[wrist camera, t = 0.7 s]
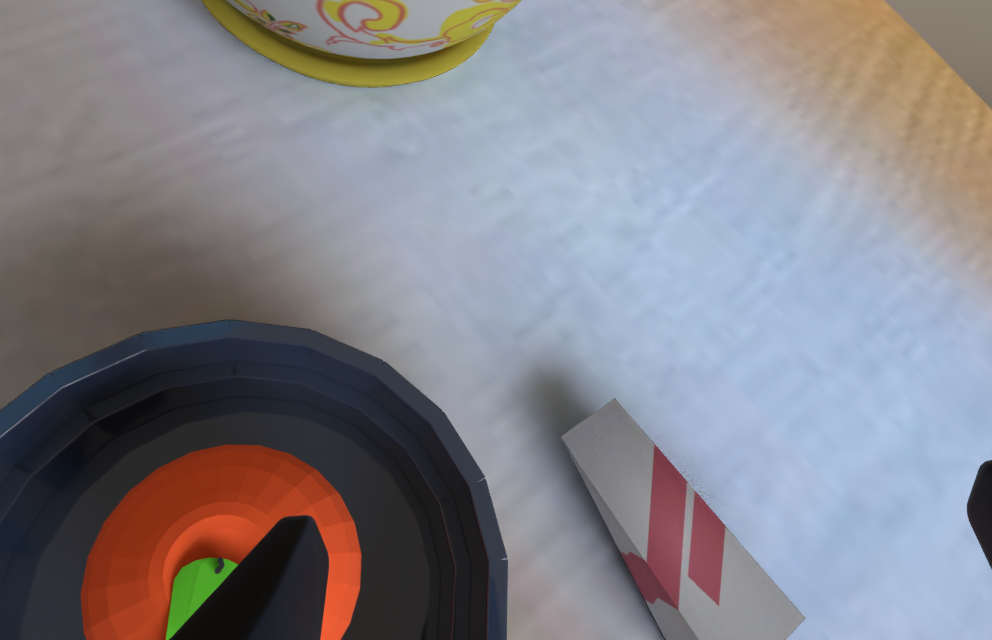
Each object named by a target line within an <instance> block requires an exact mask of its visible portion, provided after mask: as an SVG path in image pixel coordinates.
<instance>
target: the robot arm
mask: <svg viewBox="0 0 992 640" xmlns="http://www.w3.org/2000/svg"><path fill="white" fill-rule="evenodd" d="M967 514H968V518H969V521H970V524H971V526H972V528H973V530H974V533H975V535H976V537H977V539H978V541H979V543H980V545H981V548H982V550H983V552H984V554H985V556H986V558H987V560H988V562H989V565H990V567H991V569H992V460H989V461H986V462H984V463H983V464H982V465H981V466H980V468H979V470H978V473H977V476H976V479H975V482H974V485H973V488H972V490H971V493H970V496H969V499H968V503H967ZM328 573H329V555H328V551H327V548H326V546H325V543H324V541H323V539H322V536H321V534H320V531H319V529H318V526H317V524H316V522H315V520H314V518H313V517H312V516H310V515H299V516H287V517H284V518H282V519H281V520H279V521H278V522H277V523H276V524H275V525H274V526H273V528H272V529H271V530H270V531H269V532H268V533H267V534H266V535H265V536H264V537H263V538H262V539H261V541H260V542H259V543H258V544H257V545H256V546H255V547H254V548H253V549H252V550H251V551H250V552H249V554H248V555H247V556H246V557H245V558H244V559H243V560H242V561H241V562H240V563H239V564H238V566H237V567H236V568H235V569H234V570H233V571H232V572H231V573H230V574H229V575H228V576H227V577H226V579H225V580H224V581H223V582H222V583H221V584H220V585H219V586H218V587H217V588H216V589H215V590H214V592H213V593H212V594H211V595H210V596H209V597H208V598H207V599H206V600H205V601H204V602H203V604H202V605H201V606H200V607H199V608H198V609H197V610H196V611H195V612H194V613H193V614H192V615H191V617H190V618H189V619H188V620H187V621H186V622H185V623H184V624H183V625H182V626H181V627H180V628H179V630H178V631H177V632H176V633H175V634H174V635H173V636H172V637H171V638H170V639H169V640H320V638H321V630H322V622H323V614H324V606H325V598H326V590H327V581H328Z"/></svg>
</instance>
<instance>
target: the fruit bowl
mask: <svg viewBox="0 0 992 640" xmlns="http://www.w3.org/2000/svg"><path fill="white" fill-rule="evenodd" d="M222 445H260V446H264V447H267V448H271V449H274V450H278V451H281V452H285V453H289V454H291V455H293V456H295V457H296V458H298V459H300V460H301V461H303V462H305V463H306V464H308V465H310V466H311V467H313V468H315V469H316V470H318V471H319V473H320V474H321V475H322V476H323V477H324V478H325V479H326V480H327V481H328V482H329V483H330V484H331V485H332V486H333V487H334V488H335V490H336V491H337V492H338V493H339V494H340V496H341V497H342V499H343V501H344V503H345V505H346V507H347V509H348V511H349V513H350V515H351V517H352V519H353V520H354V522H355V526H356V531H357V536H358V540H359V545H360V549H361V554H362V557H361V581H360V591H359V594H358V598H357V601H356V605H355V608H354V612H353V615H352V618H351V622H350V624H349V626H348V628H347V630H346V631H345V633H344V635H343V637H342V638H341V640H507V587H508V560H507V555H506V551H505V547H504V544H503V540H502V536H501V533H500V529H499V525H498V522H497V518H496V514H495V511H494V507H493V503H492V500H491V496H490V492H489V489H488V485H487V481H486V479H485V476H484V475H483V473H482V471H481V470H480V468H479V467H478V465H477V463H476V462H475V460H474V459H473V457H472V456H471V454H470V452H469V451H468V449H467V448H466V446H465V444H464V443H463V441H462V440H461V438H460V436H459V435H458V433H457V432H456V430H455V429H454V427H453V425H452V424H451V422H450V421H449V419H448V417H447V416H446V414H445V413H444V412H442V410H441V409H440V408H439V407H438V406H437V405H436V404H434V403H433V402H432V401H431V400H430V399H429V398H427V397H426V396H425V395H424V394H423V393H422V392H420V391H419V390H418V389H417V388H416V387H414V386H413V385H412V384H411V383H410V382H409V381H407V380H406V379H405V378H404V377H403V376H402V375H400V374H399V373H398V372H397V371H396V370H395V369H393V368H392V367H391V366H390V365H389V364H388V363H386V362H384V361H383V360H381V359H379V358H376V357H374V356H372V355H370V354H367V353H365V352H363V351H360V350H358V349H356V348H353V347H351V346H349V345H346V344H344V343H342V342H340V341H337V340H335V339H333V338H330V337H328V336H326V335H323V334H321V333H319V332H316V331H313V330H311V329H305V328H297V327H288V326H280V325H272V324H264V323H256V322H248V321H240V320H221V321H214V322H207V323H201V324H194V325H187V326H181V327H174V328H167V329H161V330H154V331H147V332H142V333H141V334H136V335H134V336H132V337H129V338H127V339H125V340H122V341H120V342H118V343H116V344H113V345H111V346H109V347H106V348H104V349H102V350H99V351H97V352H95V353H92V354H90V355H88V356H85V357H83V358H81V359H79V360H76V361H74V362H72V363H69V364H67V365H65V366H62V367H60V368H58V369H55V370H53V371H52V372H51V373H47V374H46V375H45V376H44V377H42V378H41V379H40V380H38V381H37V382H36V383H35V384H33V385H32V386H31V387H29V388H28V389H27V390H26V391H24V392H23V393H22V394H21V395H19V396H18V397H17V398H15V399H14V400H13V401H12V402H10V403H9V404H8V405H6V406H5V407H4V408H3V409H1V410H0V640H86V637H85V635H84V629H83V618H82V606H81V590H82V585H83V580H84V575H85V569H86V564H87V559H88V556H89V554H90V551H91V549H92V547H93V545H94V543H95V541H96V539H97V537H98V535H99V532H100V530H101V528H102V526H103V524H104V522H105V521H106V519H107V518H108V517H109V516H110V514H111V513H112V512H113V511H114V509H115V508H116V507H117V506H118V504H119V503H120V502H121V501H122V499H123V498H124V497H125V496H126V494H127V493H128V492H129V491H130V490H131V489H133V488H134V487H135V486H136V485H138V484H139V483H140V482H141V481H143V480H144V479H145V478H147V477H148V476H149V475H150V474H152V473H153V472H154V471H155V470H157V469H158V468H159V467H162V466H164V465H166V464H168V463H170V462H172V461H174V460H176V459H178V458H180V457H183V456H185V455H187V454H189V453H191V452H194V451H199V450H204V449H208V448H213V447H217V446H222Z"/></svg>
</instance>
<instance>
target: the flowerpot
mask: <svg viewBox="0 0 992 640" xmlns="http://www.w3.org/2000/svg"><path fill="white" fill-rule="evenodd" d="M201 1H202V2H203V4H204V5H205V6H206V8H207V9H208V10H209V11H210V13H211V14H212V15H213V16H214V17H215V18H216V19H217V20H218V21H219V23H220V24H222V25H223V26H224V27H225V28H226V29H227V30H228V31H229V32H230V33H231V34H233V35H234V36H235V37H236V38H238V39H239V40H240V41H242V42H243V43H244V44H246V45H247V46H249V47H250V48H252V49H253V50H255V51H257V52H258V53H260V54H261V55H263V56H265V57H267V58H269V59H271V60H272V61H274V62H276V63H279V64H280V65H282V66H284V67H286V68H288V69H290V70H293V71H295V72H297V73H300V74H302V75H305V76H308V77H311V78H314V79H317V80H321V81H324V82H328V83H333V84H338V85H344V86H352V87H388V86H396V85H401V84H408V83H413V82H418V81H422V80H425V79H429V78H432V77H435V76H438V75H440V74H442V73H445V72H447V71H449V70H451V69H453V68H455V67H456V66H458V65H460V64H461V63H463V62H464V61H465V60H467V59H468V58H469V57H470V56H472V55H473V54H474V53H475V52H476V51H477V50H478V49H479V48H480V47H481V45H482V44H483V43H484V42H485V40H486V39H487V37H488V36H489V34H490V32H491V30H492V28H493V26H494V24H495V22H496V21H498V20H499V19H501V18H502V17H503V16H504V15H506V14H507V13H508V12H509V11H510V10H512V9H513V8H514V7H515V6H516V5H517V4H518V3H519V2H520V1H521V0H201Z"/></svg>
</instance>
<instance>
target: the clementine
mask: <svg viewBox="0 0 992 640" xmlns="http://www.w3.org/2000/svg"><path fill="white" fill-rule="evenodd" d="M299 515H310V516H312V517H313V518H314V520H315V522H316V524H317V526H318V529H319V531H320V534H321V536H322V539H323V541H324V543H325V546H326V548H327V551H328V555H329V573H328V581H327V590H326V598H325V606H324V614H323V622H322V630H321V638H320V640H341V638H342V637H343V635H344V633H345V631H346V630H347V628H348V626H349V624H350V622H351V618H352V615H353V612H354V608H355V605H356V601H357V598H358V594H359V591H360V581H361V557H362V554H361V549H360V545H359V540H358V536H357V531H356V526H355V522H354V520H353V519H352V517H351V515H350V513H349V511H348V509H347V507H346V505H345V503H344V501H343V499H342V497H341V496H340V494H339V493H338V492H337V491H336V490H335V488H334V487H333V486H332V485H331V484H330V483H329V482H328V481H327V480H326V479H325V478H324V477H323V476H322V475H321V474H320V473H319V471H318V470H316V469H315V468H313V467H311V466H310V465H308V464H306V463H305V462H303V461H301V460H300V459H298V458H296V457H295V456H293V455H291V454H289V453H285V452H281V451H278V450H274V449H271V448H267V447H264V446H260V445H222V446H217V447H213V448H208V449H204V450H199V451H194V452H191V453H189V454H187V455H185V456H183V457H180V458H178V459H176V460H174V461H172V462H170V463H168V464H166V465H164V466H162V467H159V468H158V469H157V470H155V471H154V472H153V473H152V474H150V475H149V476H148V477H147V478H145V479H144V480H143V481H141V482H140V483H139V484H138V485H136V486H135V487H134V488H133V489H131V490H130V491H129V492H128V493H127V494H126V496H125V497H124V498H123V499H122V501H121V502H120V503H119V504H118V506H117V507H116V508H115V509H114V511H113V512H112V513H111V514H110V516H109V517H108V518H107V519H106V521H105V522H104V524H103V526H102V528H101V530H100V532H99V535H98V537H97V539H96V541H95V543H94V545H93V547H92V549H91V551H90V554H89V556H88V559H87V564H86V569H85V575H84V580H83V585H82V590H81V606H82V618H83V629H84V635H85V637H86V640H169V639H170V638H171V637H172V636H173V635H174V634H175V633H176V632H177V631H178V630H179V628H180V627H181V626H182V625H183V624H184V623H185V622H186V621H187V620H188V619H189V618H190V617H191V615H192V614H193V613H194V612H195V611H196V610H197V609H198V608H199V607H200V606H201V605H202V604H203V602H204V601H205V600H206V599H207V598H208V597H209V596H210V595H211V594H212V593H213V592H214V590H215V589H216V588H217V587H218V586H219V585H220V584H221V583H222V582H223V581H224V580H225V579H226V577H227V576H228V575H229V574H230V573H231V572H232V571H233V570H234V569H235V568H236V567H237V566H238V564H239V563H240V562H241V561H242V560H243V559H244V558H245V557H246V556H247V555H248V554H249V552H250V551H251V550H252V549H253V548H254V547H255V546H256V545H257V544H258V543H259V542H260V541H261V539H262V538H263V537H264V536H265V535H266V534H267V533H268V532H269V531H270V530H271V529H272V528H273V526H274V525H275V524H276V523H277V522H278V521H279V520H281V519H282V518H284V517H287V516H299Z"/></svg>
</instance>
